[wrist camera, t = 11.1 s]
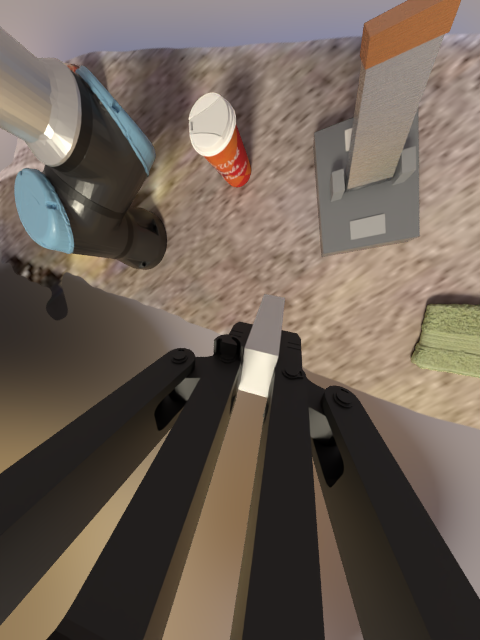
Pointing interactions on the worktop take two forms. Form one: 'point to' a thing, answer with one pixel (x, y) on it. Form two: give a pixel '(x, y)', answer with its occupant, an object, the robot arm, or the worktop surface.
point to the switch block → (364, 196)
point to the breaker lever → (393, 85)
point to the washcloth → (450, 339)
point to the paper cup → (219, 138)
